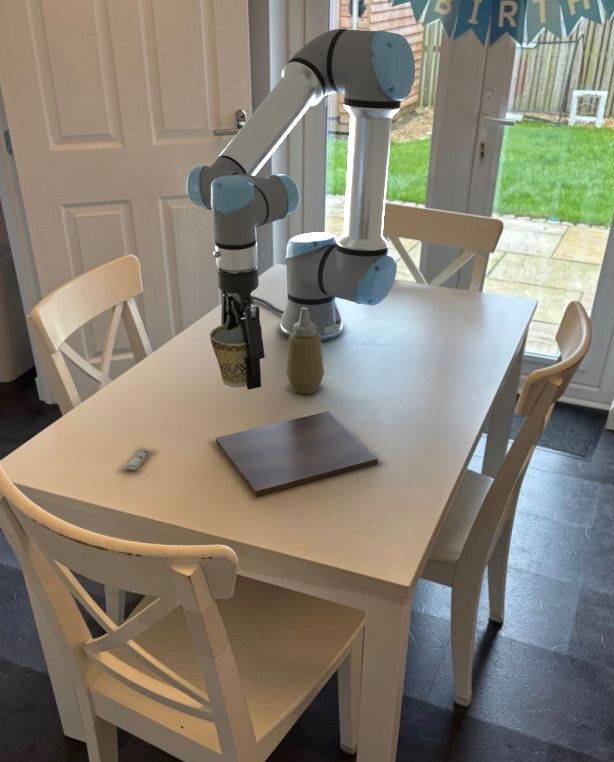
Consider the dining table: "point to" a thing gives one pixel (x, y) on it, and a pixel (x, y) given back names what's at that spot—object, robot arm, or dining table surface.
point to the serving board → (294, 452)
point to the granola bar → (137, 460)
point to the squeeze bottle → (304, 356)
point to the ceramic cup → (230, 354)
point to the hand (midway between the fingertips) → (244, 377)
